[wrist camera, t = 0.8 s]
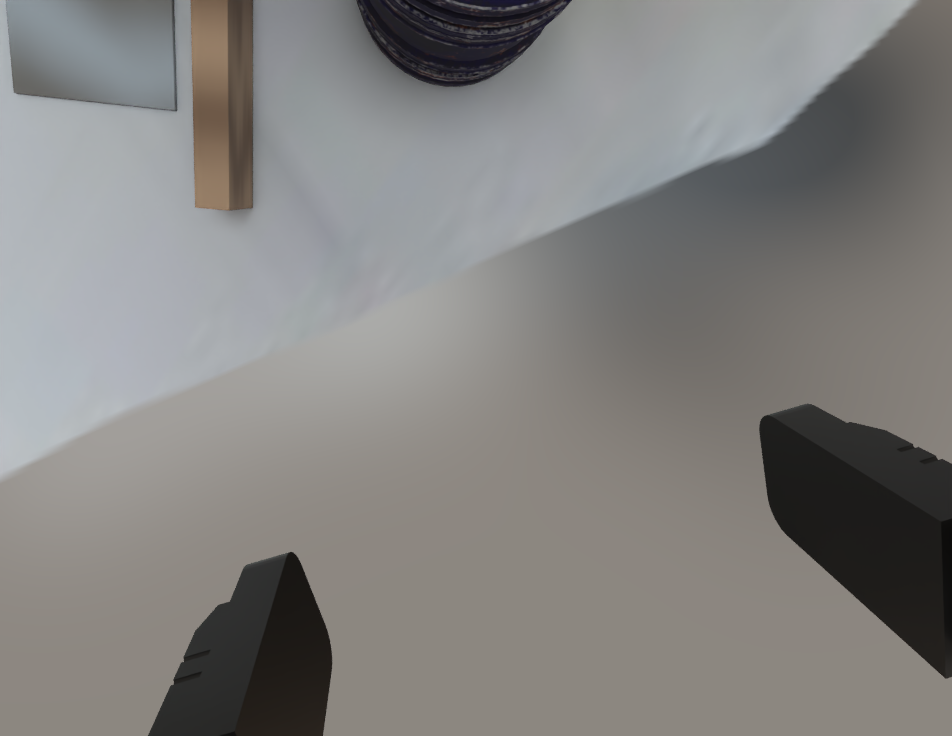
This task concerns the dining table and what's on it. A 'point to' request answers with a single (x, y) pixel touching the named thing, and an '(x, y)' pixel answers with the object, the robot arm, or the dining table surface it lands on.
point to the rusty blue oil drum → (456, 35)
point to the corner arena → (149, 73)
